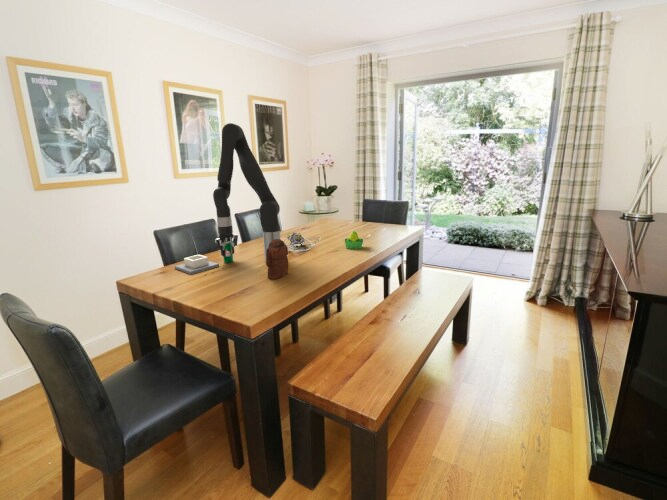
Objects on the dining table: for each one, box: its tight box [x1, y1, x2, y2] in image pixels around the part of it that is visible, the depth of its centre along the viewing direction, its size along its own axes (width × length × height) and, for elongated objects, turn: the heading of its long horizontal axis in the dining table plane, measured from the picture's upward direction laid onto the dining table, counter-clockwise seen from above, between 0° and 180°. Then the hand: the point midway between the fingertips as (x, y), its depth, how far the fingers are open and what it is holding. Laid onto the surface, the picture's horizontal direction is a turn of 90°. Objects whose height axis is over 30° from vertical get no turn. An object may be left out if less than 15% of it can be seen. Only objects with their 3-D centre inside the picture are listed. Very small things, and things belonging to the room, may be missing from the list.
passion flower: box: [287, 231, 307, 246], centre depth 221 cm, size 11×11×12 cm
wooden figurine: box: [265, 238, 289, 280], centre depth 167 cm, size 12×6×18 cm, turn 151°
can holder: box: [174, 254, 220, 275], centre depth 184 cm, size 16×16×6 cm
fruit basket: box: [344, 230, 364, 250], centre depth 215 cm, size 11×9×11 cm
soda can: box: [222, 241, 234, 264], centre depth 192 cm, size 5×5×12 cm
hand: (228, 255), depth 193 cm, fingers closed on soda can, 5 cm apart
